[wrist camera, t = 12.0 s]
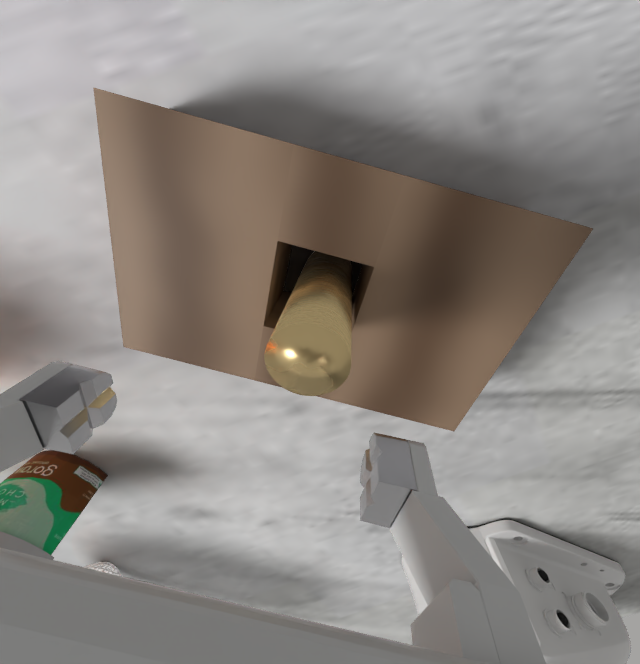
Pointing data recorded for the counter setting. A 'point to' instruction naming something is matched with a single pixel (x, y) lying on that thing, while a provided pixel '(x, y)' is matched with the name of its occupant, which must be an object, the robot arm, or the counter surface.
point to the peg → (314, 329)
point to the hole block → (322, 236)
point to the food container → (45, 501)
